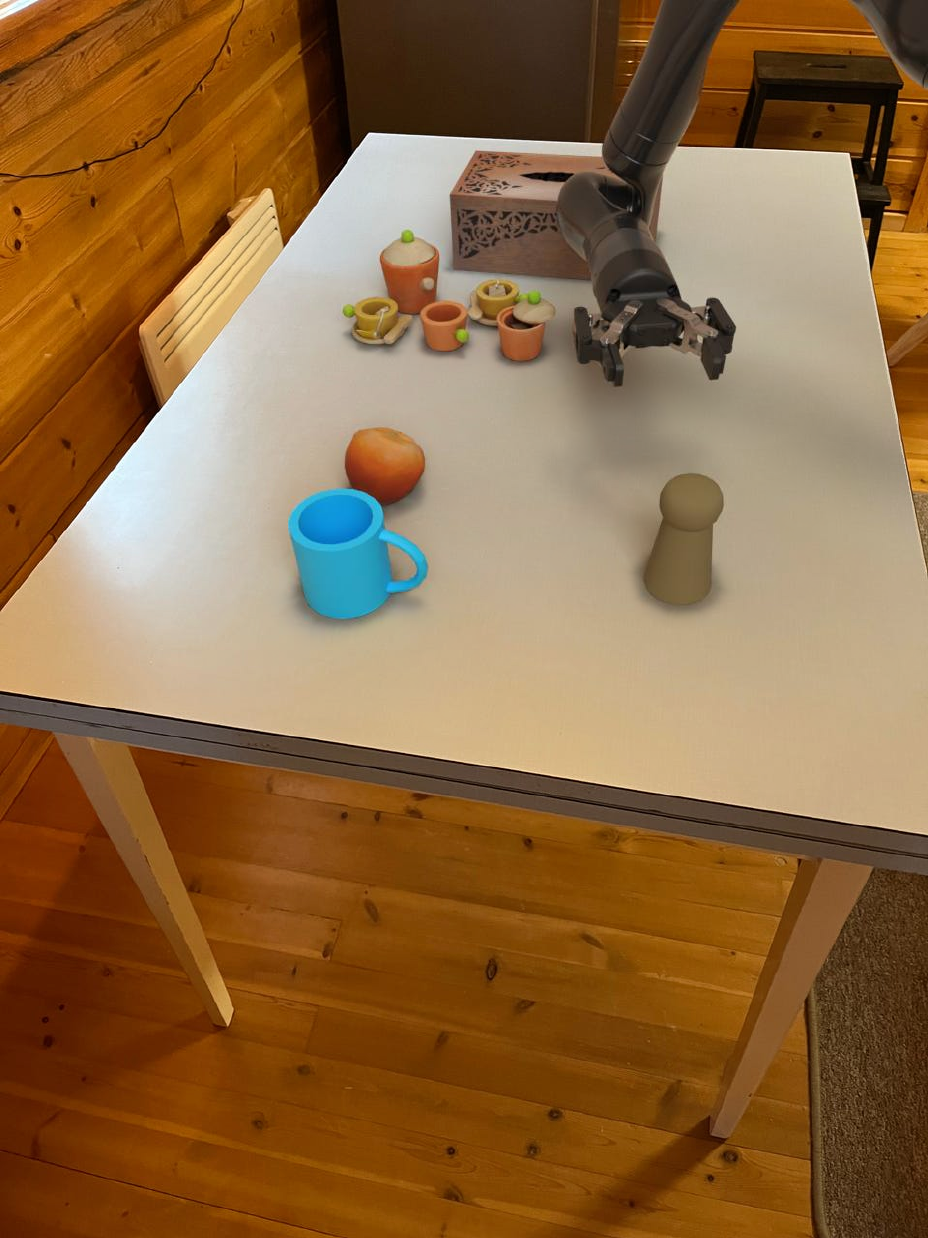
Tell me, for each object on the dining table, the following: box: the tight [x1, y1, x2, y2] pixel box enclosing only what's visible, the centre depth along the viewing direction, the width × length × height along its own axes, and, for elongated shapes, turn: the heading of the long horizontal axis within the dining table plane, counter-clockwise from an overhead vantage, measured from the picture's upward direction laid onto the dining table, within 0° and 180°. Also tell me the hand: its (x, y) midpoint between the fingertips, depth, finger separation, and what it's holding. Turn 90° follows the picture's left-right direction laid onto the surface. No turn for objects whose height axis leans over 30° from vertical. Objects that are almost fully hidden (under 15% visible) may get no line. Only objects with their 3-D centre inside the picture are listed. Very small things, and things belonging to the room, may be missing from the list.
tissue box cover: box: [449, 150, 664, 281], centre depth 124 cm, size 26×14×10 cm, turn 76°
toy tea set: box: [342, 229, 557, 362], centre depth 112 cm, size 26×16×10 cm, turn 72°
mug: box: [287, 488, 429, 620], centre depth 82 cm, size 12×8×8 cm
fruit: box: [344, 426, 426, 506], centre depth 92 cm, size 8×8×8 cm
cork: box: [643, 472, 725, 606], centre depth 80 cm, size 6×6×11 cm
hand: (668, 374), depth 81 cm, fingers open, 8 cm apart
